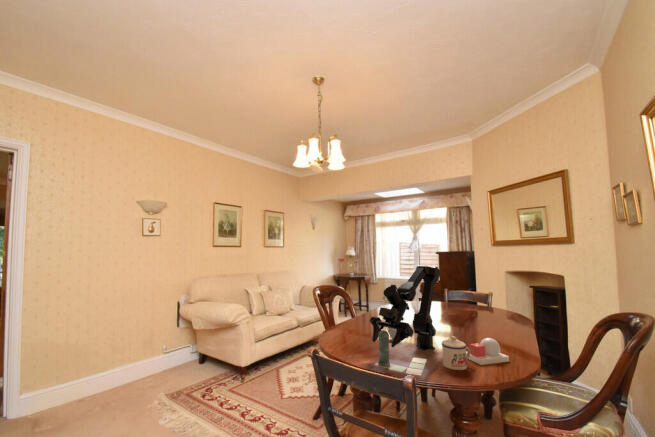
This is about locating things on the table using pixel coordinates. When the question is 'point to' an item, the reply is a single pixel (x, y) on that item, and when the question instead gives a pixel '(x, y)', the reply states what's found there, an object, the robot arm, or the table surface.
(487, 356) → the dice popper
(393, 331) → the frog figurine
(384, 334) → the pawn
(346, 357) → the table surface
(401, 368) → the track
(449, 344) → the teacup with lid
